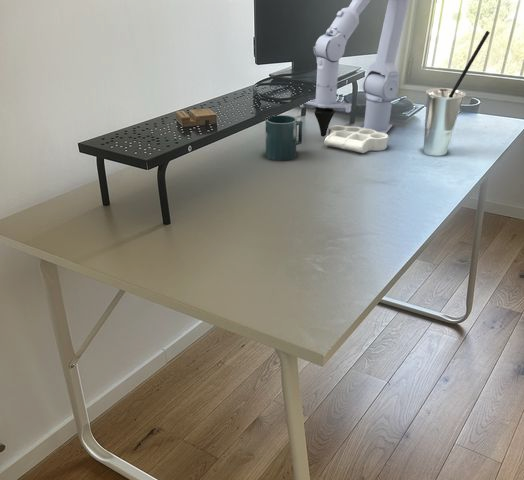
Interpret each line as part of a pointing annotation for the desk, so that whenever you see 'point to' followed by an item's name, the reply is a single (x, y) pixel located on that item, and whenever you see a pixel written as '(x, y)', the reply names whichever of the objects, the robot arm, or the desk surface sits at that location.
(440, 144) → the metal cup with straw
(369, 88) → the robot arm
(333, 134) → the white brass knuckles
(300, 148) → the desk surface
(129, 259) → the desk surface
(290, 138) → the mug
